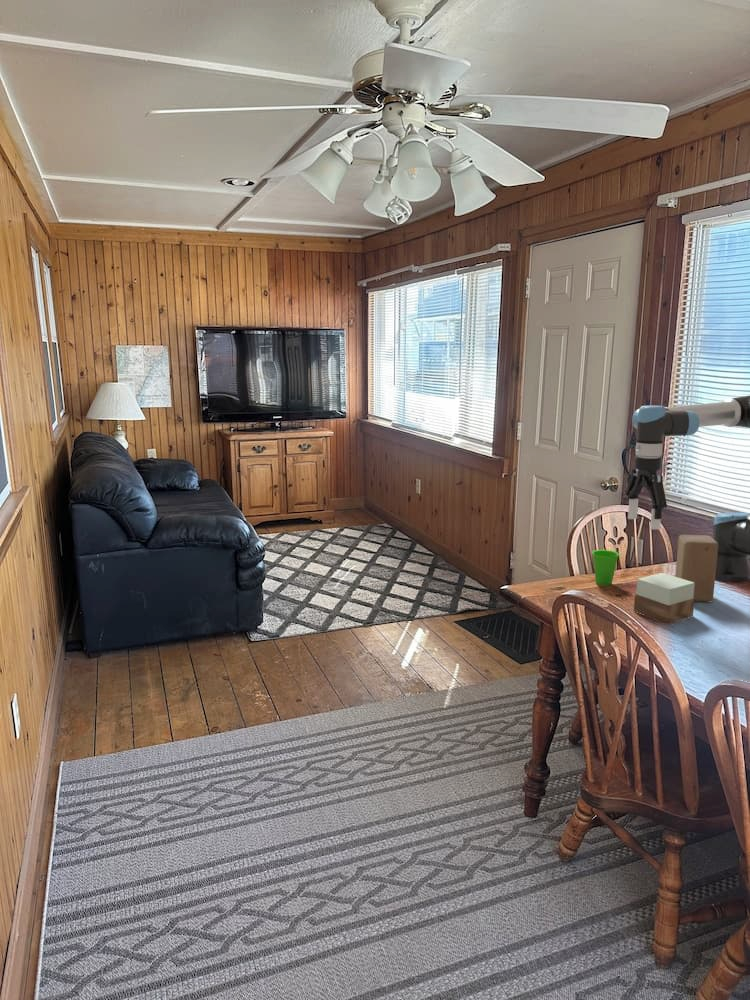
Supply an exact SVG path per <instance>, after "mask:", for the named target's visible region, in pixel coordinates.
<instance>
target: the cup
mask: <svg viewBox="0 0 750 1000" xmlns="http://www.w3.org/2000/svg"><path fill="white" fill-rule="evenodd" d="M591 555H592V557H593V565H594V566H593V568H594V576H595V583H596V585H599V586H604V587H608V586H611V585H612V583H613V580H614V576H615V571H616V567H617V562H618V558H619V556H620V553H619V552H617V551H614V550H609V549H596V550H593V551H592V552H591Z"/></svg>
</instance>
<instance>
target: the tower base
mask: <svg viewBox="0 0 750 1000" xmlns="http://www.w3.org/2000/svg"><path fill="white" fill-rule="evenodd" d="M694 599H695V598H693V599H690V600H686V601H683V602H679V603H676V604H672V605H666V604H663V603H660V602H657V601H654V600H651V599H648V598H645V597H642V596H640V595H637V594H636V593H634V602H633V603H634V604H633V612H634V611H635V612H634V613H636V612H638V613H637V614H639V613H641V614H644V615H645V616H644V615H643V616H644V617H647V616H648V617H647V618H649V617H650V619H652V618H653V620H654V621H658V622H660V623H662V624H663V623H664V624H666V625H669V624H673V623H676V622H679V621H682V620H685V618H686V619H689V618H692V617H693V616H694V608H695V601H694ZM641 614H640V615H641ZM691 616H692V617H691ZM688 617H689V618H688Z"/></svg>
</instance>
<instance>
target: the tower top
mask: <svg viewBox="0 0 750 1000" xmlns="http://www.w3.org/2000/svg"><path fill="white" fill-rule="evenodd" d="M694 585H695V583H694V582H691V581H688V580H684V579H681V578H678V577H675V576H674V575H670V574H667V573H664V572H659V573H655V574H652V575H646V576H644V577H640V578H637V580H636V592H635V594H637V595H640V596H642V597H645V598H648V599H651V600H654V601H657V602H660V603H663V604H666V605H672V604H676V603H679V602H683V601H686V600H690V599H693V596H694Z"/></svg>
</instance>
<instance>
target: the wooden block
mask: <svg viewBox="0 0 750 1000" xmlns="http://www.w3.org/2000/svg"><path fill="white" fill-rule="evenodd" d="M677 541H678V543H677V550H676V551H677V552H676V553H677V554H676V563H675V576H674V577H678V578H681V579H684V580H688V581H691V582H694V583H695V585H694V596H693V598H695V599H694V602H701V601H702V603H703V602H706V603H711V602H713V600H714V592H715V586H716V585H715V583H716V579H715V574H716V564H717V554H718V543H717V542H716V541H715V540H714V539H713V536H710V535H706V534H705V535H704V534H701V535H700V534H680V535H678V540H677Z"/></svg>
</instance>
